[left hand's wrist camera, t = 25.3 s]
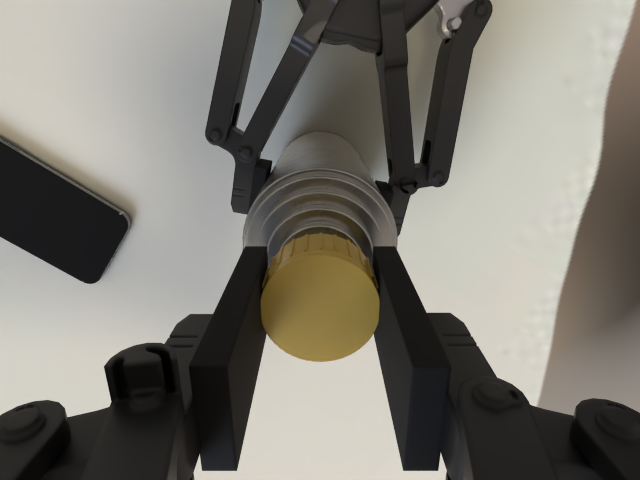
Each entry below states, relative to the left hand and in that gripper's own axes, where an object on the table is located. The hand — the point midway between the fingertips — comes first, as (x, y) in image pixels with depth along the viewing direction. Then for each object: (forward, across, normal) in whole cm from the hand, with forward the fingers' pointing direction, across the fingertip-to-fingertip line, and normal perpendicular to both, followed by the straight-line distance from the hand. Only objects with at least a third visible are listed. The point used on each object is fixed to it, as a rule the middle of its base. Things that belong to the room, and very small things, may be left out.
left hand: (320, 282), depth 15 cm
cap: (-2, 0, 0) cm, 2 cm away
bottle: (+19, 0, 0) cm, 19 cm away
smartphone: (+19, -23, -2) cm, 29 cm away
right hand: (+12, -1, -5) cm, 13 cm away
